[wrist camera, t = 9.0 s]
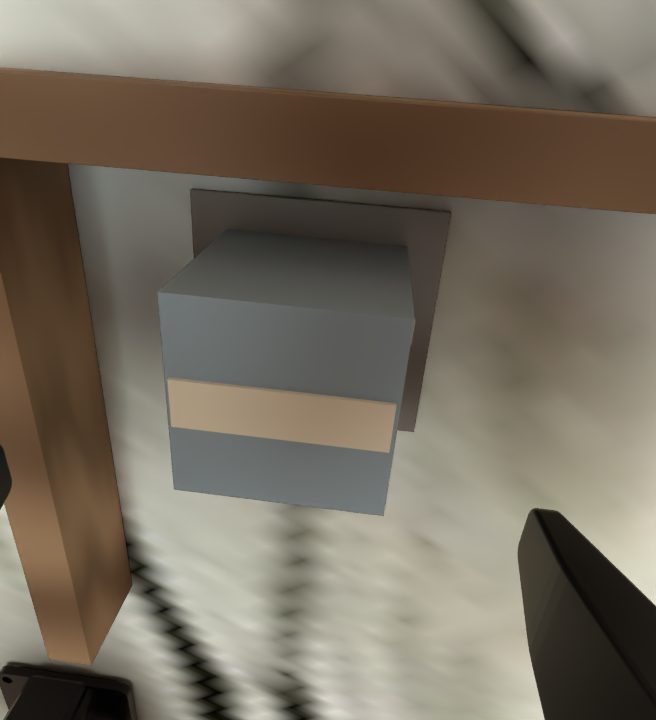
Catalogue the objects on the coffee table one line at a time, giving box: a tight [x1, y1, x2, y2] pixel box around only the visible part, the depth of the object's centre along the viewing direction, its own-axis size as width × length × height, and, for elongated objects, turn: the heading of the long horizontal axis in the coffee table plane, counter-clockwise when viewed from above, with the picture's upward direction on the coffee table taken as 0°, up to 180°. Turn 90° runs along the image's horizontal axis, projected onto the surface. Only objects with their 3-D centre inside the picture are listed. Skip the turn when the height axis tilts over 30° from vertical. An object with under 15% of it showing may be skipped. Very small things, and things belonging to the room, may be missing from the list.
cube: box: [157, 229, 415, 516], centre depth 14 cm, size 5×5×5 cm
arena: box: [0, 68, 656, 665], centre depth 16 cm, size 19×19×4 cm
